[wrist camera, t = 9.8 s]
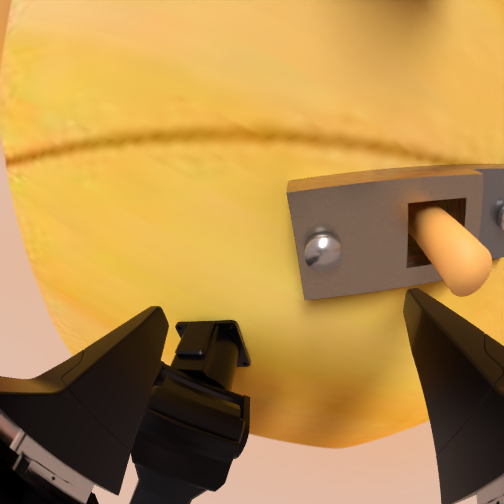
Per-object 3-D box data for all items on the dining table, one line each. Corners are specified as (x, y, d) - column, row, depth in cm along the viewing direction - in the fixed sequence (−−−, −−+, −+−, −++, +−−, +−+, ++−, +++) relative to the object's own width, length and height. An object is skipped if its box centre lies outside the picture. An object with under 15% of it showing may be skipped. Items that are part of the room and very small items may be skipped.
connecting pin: (437, 233, 19) (485, 291, 12) (403, 238, 19) (444, 300, 12) (438, 195, 17) (496, 242, 10) (403, 199, 18) (452, 249, 11)
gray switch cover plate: (457, 256, 19) (477, 281, 16) (304, 277, 22) (304, 309, 19) (462, 164, 16) (491, 177, 12) (288, 181, 19) (286, 197, 15)
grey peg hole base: (502, 247, 18) (516, 260, 16) (376, 268, 21) (383, 286, 19) (510, 164, 14) (527, 171, 12) (371, 170, 17) (381, 178, 15)
